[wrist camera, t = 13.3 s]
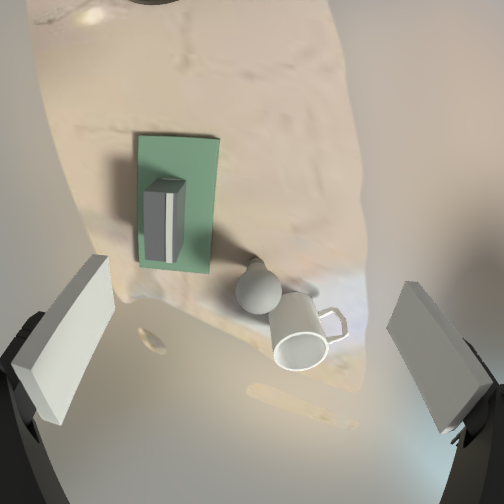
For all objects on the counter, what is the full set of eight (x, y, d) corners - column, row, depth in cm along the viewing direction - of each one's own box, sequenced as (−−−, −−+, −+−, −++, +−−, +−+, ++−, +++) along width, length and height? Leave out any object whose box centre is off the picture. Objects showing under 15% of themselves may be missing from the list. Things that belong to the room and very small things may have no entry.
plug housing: (156, 178, 41) (143, 191, 35) (186, 180, 41) (177, 194, 35) (156, 239, 45) (144, 260, 39) (183, 242, 45) (175, 263, 39)
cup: (340, 313, 53) (356, 352, 44) (277, 335, 55) (283, 376, 46) (330, 277, 50) (347, 314, 41) (261, 301, 51) (265, 342, 42)
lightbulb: (236, 280, 49) (236, 324, 40) (235, 245, 47) (233, 284, 37) (275, 279, 50) (283, 322, 40) (276, 244, 47) (285, 282, 37)
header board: (141, 135, 39) (130, 138, 35) (220, 139, 40) (217, 142, 36) (141, 263, 48) (133, 278, 43) (209, 270, 48) (206, 286, 44)
